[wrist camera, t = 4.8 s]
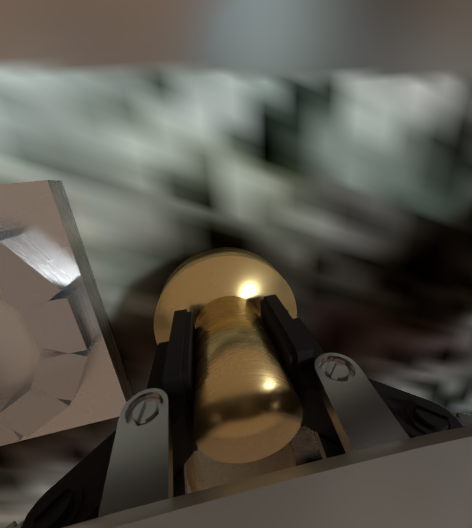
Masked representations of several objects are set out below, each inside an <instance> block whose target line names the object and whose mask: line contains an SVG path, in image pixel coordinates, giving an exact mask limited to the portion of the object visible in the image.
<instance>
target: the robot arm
mask: <svg viewBox="0 0 472 528" xmlns="http://www.w3.org/2000/svg"><path fill="white" fill-rule="evenodd" d="M260 308H261V318H262V321H263V323H264V325H265V327H266V329H267V331H268V333H269V336H270V338H271V340H272V342H273V344H274V346H275V348H276V351H277V353H278V355H279V357H280V359H281V361H282V363H283V366H284V368H285V370H286V372H287V374H288V376H289V378H290V381H291V383H292V385H293V387H294V389H295V391H296V393H297V395H298V398H299V400H300V402H301V405H302V409H303V418H302V423H301V425H300V426H304V425H306V426H307V427H308V428H310V429H312V430H314V435H315V438H316V441H317V444H318V447H319V450H320V453H321V456H322V460H318V461H314V462H310V463H306V464H302V465H298V466H295V467H291V468H287V469H283V470H279V471H275V472H271V473H267V474H263V475H259V476H255V477H251V478H247V479H243V480H239V481H235V482H231V483H227V484H224V485H220V486H216V487H212V488H208V489H204V490H200V491H197V492H193V493H189V494H188V485H187V469H186V461H187V460H188V459H189V458H190V456H191V455H192V454H193V451H198V446H197V445H196V443H195V440H194V436H193V413H194V375H195V325H194V319H193V314H192V311H191V312H188V311H187V309H184V310H178V311H174V316H173V321H172V327H171V332H170V337H169V341H166V342H161V343H159V344H158V347H157V351H156V355H155V359H154V363H153V367H152V371H151V374H150V378H149V382H148V386H147V389H146V390H143V391H141V392H139V393H137V394H136V395H134V396H133V397H132V398H131V399H130V400H128V401H127V402H126V404H125V405H124V407H123V408H122V410H121V413H120V416H119V420H118V425H117V430H116V431H115V432H113V433H112V434H111V435H110V436H109V437H108V438H107V439H106V440H104V441H103V442H102V443H101V444H100V445H99V446H98V447H97V448H95V449H94V450H93V451H92V452H91V453H90V454H89V455H88V456H86V457H85V458H84V459H83V460H82V461H81V462H80V463H79V464H77V465H76V466H75V467H74V468H73V469H72V470H71V471H70V472H68V473H67V474H66V475H65V476H64V477H63V478H62V479H60V480H59V481H58V482H57V483H56V484H55V485H54V486H53V487H51V488H50V489H49V490H48V491H47V492H46V493H45V494H44V495H43V496H42V497H41V498H40V499H39V500H38V501H37V502H36V504H35V505H34V506H33V508H32V509H31V510H30V512H29V513H28V514H27V516H26V518H25V520H24V521H22V522H21V523H20V524H17V523H16V522H15V521H14V522H13V523H11V524H10V525H8V526H7V527H5V528H472V415H469V414H464V413H459V412H457V414H456V416H453V415H452V414H451V413H450V412H449V411H447V410H446V409H444V408H443V407H441V406H440V405H438V404H435V403H433V402H431V401H429V400H426V399H423V398H420V397H418V396H415V395H412V394H409V393H407V392H404V391H401V390H398V389H396V388H393V387H390V386H387V385H385V384H382V383H379V382H376V381H374V380H371V379H368V378H367V377H366V376H365V374H364V373H363V372H362V370H361V369H360V367H359V366H358V365H357V364H356V363H355V362H354V361H353V360H352V359H350V358H349V357H347V356H345V355H342V354H338V353H325V352H324V351H323V349H322V348H321V347H320V345H319V344H318V343H317V341H316V340H315V339H314V337H313V336H312V335H311V333H310V332H309V331H308V329H307V328H306V327H305V325H304V324H303V323H302V321H301V320H300V319H299V318H294V319H293V318H292V317H291V316H290V314H289V313H288V311H287V310H286V308H285V307H284V305H283V304H282V303H281V301H280V300H279V298H278V297H277V295H276V294H274V295H268V296H264V299H262V300H260Z"/></svg>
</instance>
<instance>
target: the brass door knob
mask: <svg viewBox="0 0 472 528" xmlns="http://www.w3.org/2000/svg"><path fill="white" fill-rule="evenodd" d="M274 294H276V295H277V297H278V298H279V300H280V301H281V303H282V304H283V305H284V307H285V308H286V310H287V311H288V313H289V314H290V316H291V317H292V318H293V319H294V318H297V308H296V302H295V298H294V295H293V293H292V291H291V288H290V287H289V285H288V284H287V282H286V281H285V280H284V279H283V278H282V276H281V275H280V274H279V273H278V272H277V271H276V270H275V269H274V268H273V266H272V265H271V264H270V263H269V262H267V261H266V260H265V259H264V258H262V257H260V256H259V255H257V254H255V253H252V252H250V251H247V250H243V249H238V248H225V247H223V248H214V249H210V250H206V251H203V252H201V253H198V254H196V255H194V256H192V257H190V258H188V259H187V260H186V261H184V262H183V263H181V264H180V265H179V266H178V267H177V268H176V269H175V270H174V271H173V272H172V274H171V275H170V276H169V278H168V279H167V281H166V283H165V285H164V287H163V289H162V292H161V295H160V298H159V301H158V304H157V307H156V311H155V315H154V334H155V338H156V342H157V344H159V343H161V342H166V341H169V337H170V332H171V327H172V321H173V316H174V311H178V310H184V309H187V311H188V312H191V311H192V314H193V319H194V325H195V375H194V413H193V436H194V440H195V443H196V445H197V446H198V448H199V449H200V450H201V451H202V452H203V453H204V454H205V455H207V456H208V457H210V458H212V459H214V460H217V461H221V462H225V463H247V462H252V461H256V460H260V459H263V458H265V457H268V456H270V455H272V454H274V453H275V452H277V451H279V450H280V449H281V448H283V447H284V446H285V445H286V444H288V443H289V442H290V441H291V440H292V438H293V437H294V436H295V434H296V433H297V431H298V430H299V428H300V425H301V423H302V418H303V409H302V405H301V402H300V400H299V398H298V395H297V393H296V391H295V389H294V387H293V385H292V383H291V381H290V378H289V376H288V374H287V372H286V370H285V368H284V366H283V363H282V361H281V359H280V357H279V355H278V353H277V351H276V348H275V346H274V344H273V342H272V340H271V338H270V336H269V333H268V331H267V329H266V327H265V325H264V323H263V321H262V318H261V308H260V300H262V299H264V296H268V295H274Z"/></svg>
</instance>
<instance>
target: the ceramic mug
mask: <svg viewBox="0 0 472 528" xmlns="http://www.w3.org/2000/svg"><path fill="white" fill-rule="evenodd" d="M295 466H296V460H295V455H294V451H293V448H292V445H291V443H290V442H289V443H288V444H286V445H285V446H284V447H283V448H281V449H280V450H279V451H277V452H275V453H274V454H272V455H270V456H268V457H265V458H263V459H260V460H256V461H252V462H247V463H225V462H221V461H217V460H214V459H212V458H210V457H208V456H207V455H205V454H204V453H203V452H202V451H201V450H200V449H199V448H198V451H193V454H192V455H191V456H190V458H189V459H188V460H187V461H186V469H187V485H188V494H189V493H193V492H197V491H200V490H204V489H208V488H212V487H216V486H220V485H224V484H227V483H231V482H235V481H239V480H243V479H247V478H251V477H255V476H259V475H263V474H267V473H271V472H275V471H279V470H283V469H287V468H291V467H295Z"/></svg>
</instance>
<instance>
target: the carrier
mask: <svg viewBox="0 0 472 528" xmlns="http://www.w3.org/2000/svg"><path fill="white" fill-rule="evenodd" d="M133 396H134V395H133V392H132V389H131V386H130V383H129V380H128V377H127V374H126V371H125V368H124V365H123V363H122V360H121V357H120V354H119V351H118V348H117V345H116V342H115V339H114V336H113V333H112V330H111V327H110V324H109V321H108V318H107V315H106V312H105V309H104V306H103V303H102V300H101V297H100V294H99V291H98V288H97V285H96V282H95V279H94V276H93V274H92V271H91V268H90V265H89V262H88V259H87V256H86V253H85V250H84V247H83V244H82V241H81V238H80V235H79V232H78V229H77V226H76V223H75V220H74V217H73V214H72V211H71V208H70V205H69V202H68V199H67V196H66V193H65V190H64V188H63V185H62V182H61V181H55V180H44V181H33V182H23V183H13V184H2V185H0V446H3V445H7V444H11V443H15V442H19V441H22V440H26V439H30V438H34V437H38V436H42V435H46V434H50V433H54V432H58V431H62V430H66V429H70V428H75V427H79V426H83V425H87V424H91V423H95V422H99V421H103V420H107V419H111V418H115V417H119V416H120V413H121V410H122V408H123V407H124V405H125V404H126V402H127V401H128V400H130V399H131V398H132V397H133Z"/></svg>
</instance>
